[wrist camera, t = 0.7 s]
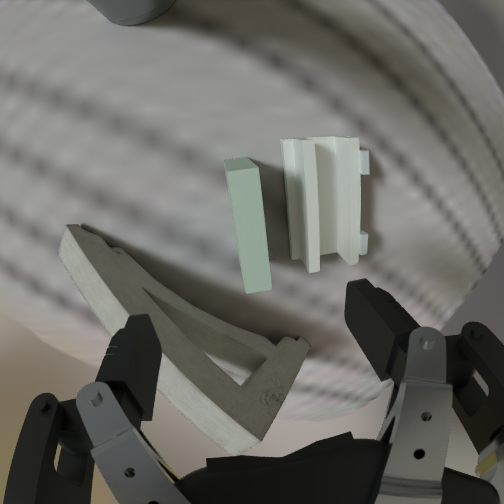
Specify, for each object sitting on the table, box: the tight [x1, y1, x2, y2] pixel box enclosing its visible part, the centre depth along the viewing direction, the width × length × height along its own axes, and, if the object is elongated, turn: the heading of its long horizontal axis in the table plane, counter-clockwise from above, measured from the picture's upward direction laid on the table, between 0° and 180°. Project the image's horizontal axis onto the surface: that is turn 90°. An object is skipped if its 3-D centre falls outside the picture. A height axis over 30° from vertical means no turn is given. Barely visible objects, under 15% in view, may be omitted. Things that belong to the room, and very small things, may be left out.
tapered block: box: [224, 157, 273, 294], centre depth 26 cm, size 11×3×8 cm, turn 7°
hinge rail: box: [280, 136, 369, 273], centre depth 28 cm, size 14×8×5 cm, turn 7°
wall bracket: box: [58, 224, 311, 456], centre depth 33 cm, size 22×4×30 cm
